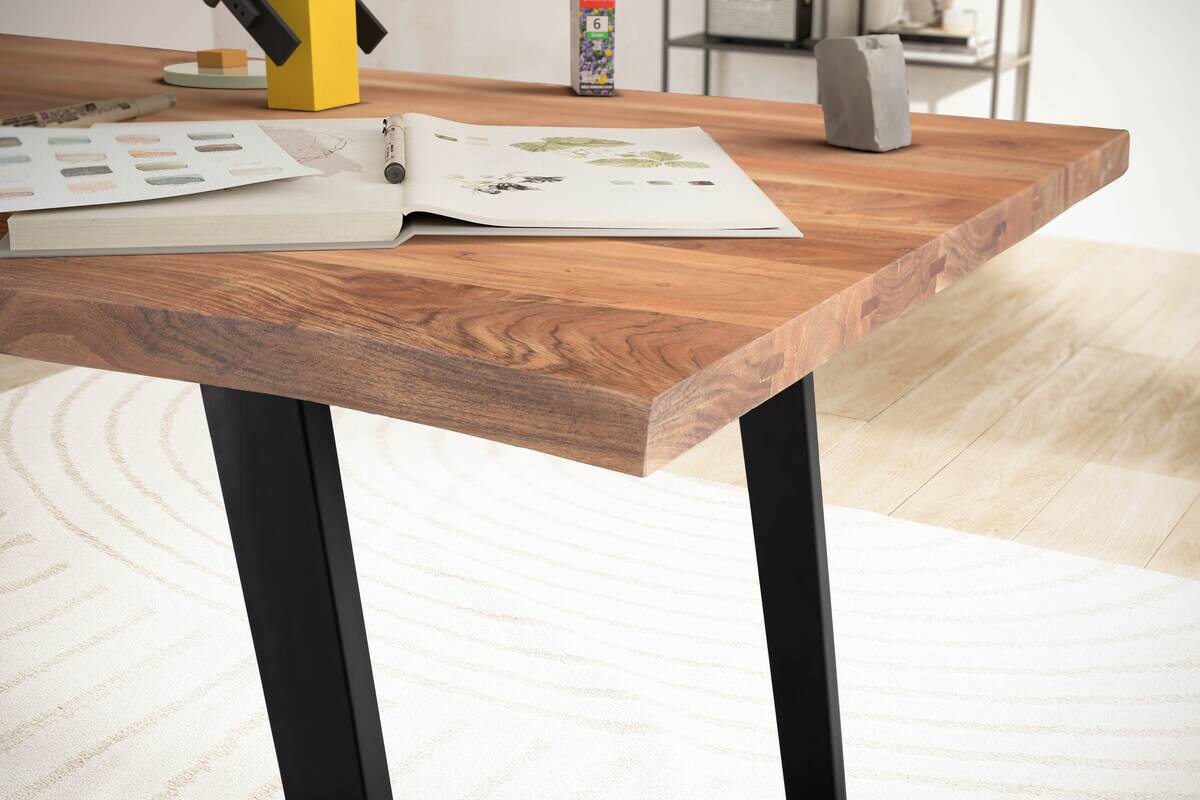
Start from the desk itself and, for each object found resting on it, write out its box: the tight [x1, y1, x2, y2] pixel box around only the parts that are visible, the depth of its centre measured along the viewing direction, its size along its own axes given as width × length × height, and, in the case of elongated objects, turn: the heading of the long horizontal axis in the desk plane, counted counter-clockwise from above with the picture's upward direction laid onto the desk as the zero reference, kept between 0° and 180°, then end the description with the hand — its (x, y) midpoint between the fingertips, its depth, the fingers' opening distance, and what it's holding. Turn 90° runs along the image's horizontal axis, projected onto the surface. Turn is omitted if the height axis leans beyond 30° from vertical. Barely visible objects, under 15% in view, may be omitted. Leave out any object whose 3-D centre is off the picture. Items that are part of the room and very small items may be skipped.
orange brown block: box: [196, 47, 248, 68], centre depth 126 cm, size 3×4×2 cm
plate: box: [162, 59, 267, 90], centre depth 126 cm, size 16×16×1 cm
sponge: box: [264, 0, 360, 112], centre depth 106 cm, size 4×7×11 cm, turn 159°
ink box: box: [569, 0, 616, 96], centre depth 119 cm, size 4×8×15 cm, turn 7°
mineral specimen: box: [813, 32, 913, 152], centre depth 91 cm, size 7×9×8 cm
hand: (336, 49), depth 105 cm, fingers open, 13 cm apart
